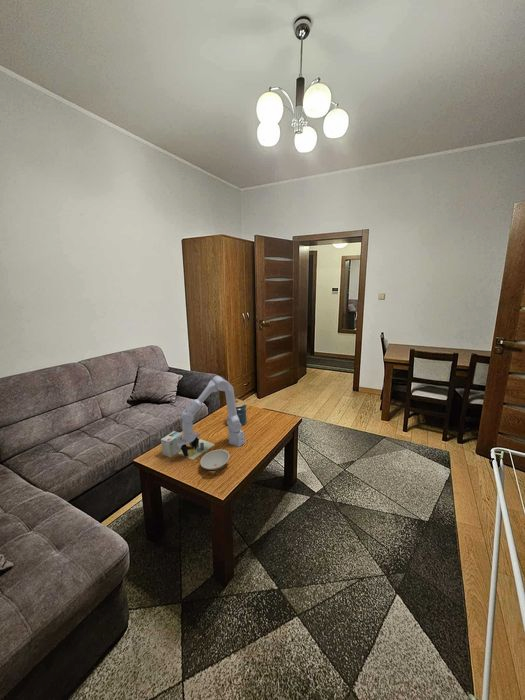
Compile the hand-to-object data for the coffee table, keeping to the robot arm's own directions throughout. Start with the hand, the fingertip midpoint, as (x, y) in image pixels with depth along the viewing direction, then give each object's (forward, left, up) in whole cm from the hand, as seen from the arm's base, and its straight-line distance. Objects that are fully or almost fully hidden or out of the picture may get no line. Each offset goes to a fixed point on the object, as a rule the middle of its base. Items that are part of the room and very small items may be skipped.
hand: (189, 453), depth 165 cm
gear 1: (+4, -7, 0) cm, 8 cm away
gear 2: (0, 0, 0) cm, 0 cm away
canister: (+2, -46, -2) cm, 46 cm away
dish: (-19, 0, -2) cm, 20 cm away
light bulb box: (+11, +3, -2) cm, 11 cm away
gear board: (+1, -6, -1) cm, 6 cm away
